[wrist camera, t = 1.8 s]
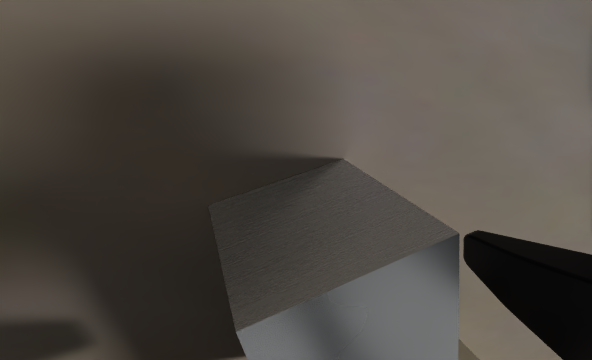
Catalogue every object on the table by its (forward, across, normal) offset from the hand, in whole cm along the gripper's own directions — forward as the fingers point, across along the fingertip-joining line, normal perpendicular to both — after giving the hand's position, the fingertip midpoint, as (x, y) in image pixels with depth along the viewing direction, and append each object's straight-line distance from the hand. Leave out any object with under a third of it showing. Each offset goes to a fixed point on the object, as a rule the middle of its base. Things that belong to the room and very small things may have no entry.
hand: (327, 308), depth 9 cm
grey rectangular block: (+2, 0, 0) cm, 2 cm away
